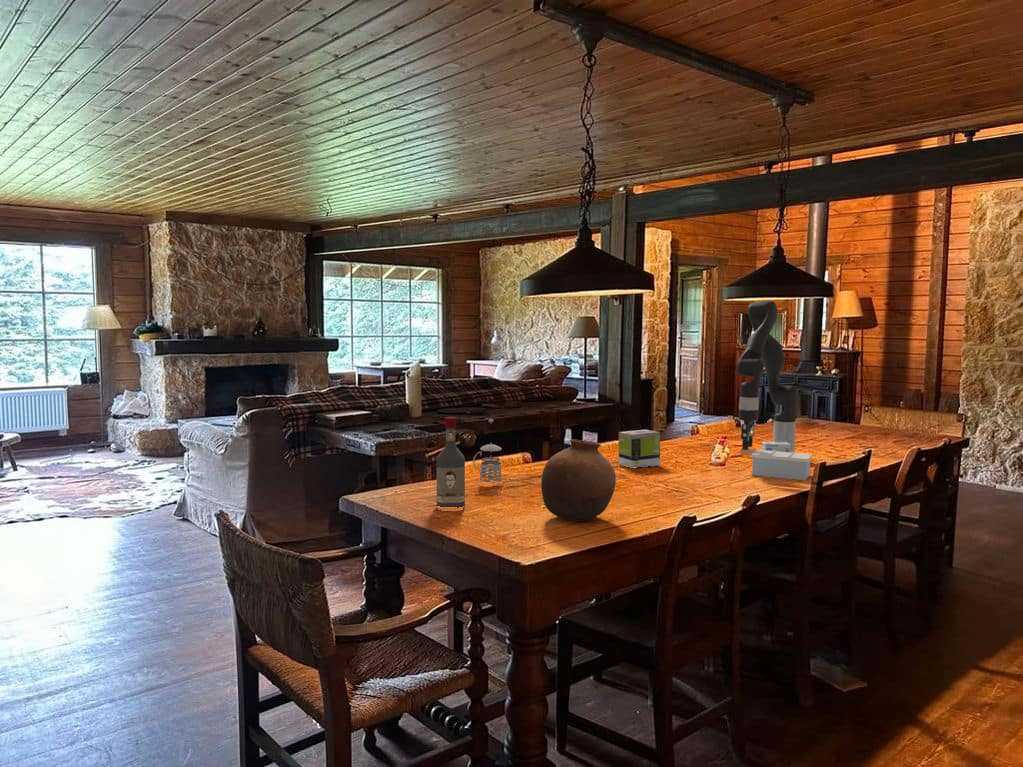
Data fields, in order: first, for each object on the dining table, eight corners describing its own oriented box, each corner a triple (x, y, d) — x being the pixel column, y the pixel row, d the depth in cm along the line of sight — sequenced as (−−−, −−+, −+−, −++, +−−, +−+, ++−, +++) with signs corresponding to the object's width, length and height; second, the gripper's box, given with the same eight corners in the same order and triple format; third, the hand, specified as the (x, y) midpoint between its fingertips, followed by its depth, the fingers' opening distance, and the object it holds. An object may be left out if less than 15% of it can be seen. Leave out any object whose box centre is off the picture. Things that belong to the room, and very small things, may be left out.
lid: (744, 451, 307) (744, 445, 307) (811, 457, 295) (811, 450, 295) (738, 456, 297) (738, 450, 296) (808, 462, 284) (808, 455, 284)
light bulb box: (786, 466, 318) (787, 441, 317) (790, 469, 311) (791, 444, 310) (760, 465, 319) (761, 440, 318) (764, 468, 312) (765, 443, 311)
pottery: (530, 523, 226) (530, 442, 224) (556, 506, 247) (557, 432, 245) (602, 532, 217) (603, 448, 215) (623, 514, 238) (624, 436, 236)
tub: (757, 472, 305) (757, 452, 304) (809, 477, 295) (810, 457, 295) (752, 477, 295) (752, 457, 294) (806, 482, 286) (806, 461, 285)
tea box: (646, 462, 326) (647, 428, 325) (660, 466, 317) (661, 432, 316) (617, 465, 319) (618, 431, 318) (631, 469, 310) (631, 434, 309)
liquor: (437, 505, 249) (436, 416, 247) (464, 504, 250) (464, 415, 247) (436, 512, 240) (436, 419, 237) (464, 511, 241) (464, 419, 238)
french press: (500, 488, 275) (500, 420, 273) (470, 486, 277) (470, 419, 275) (506, 482, 284) (506, 417, 282) (476, 481, 287) (476, 416, 284)
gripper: (742, 406, 307) (741, 445, 308) (735, 409, 295) (734, 449, 296) (761, 407, 304) (760, 446, 305) (755, 410, 291) (753, 451, 292)
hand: (747, 448), depth 300 cm, fingers open, 8 cm apart
